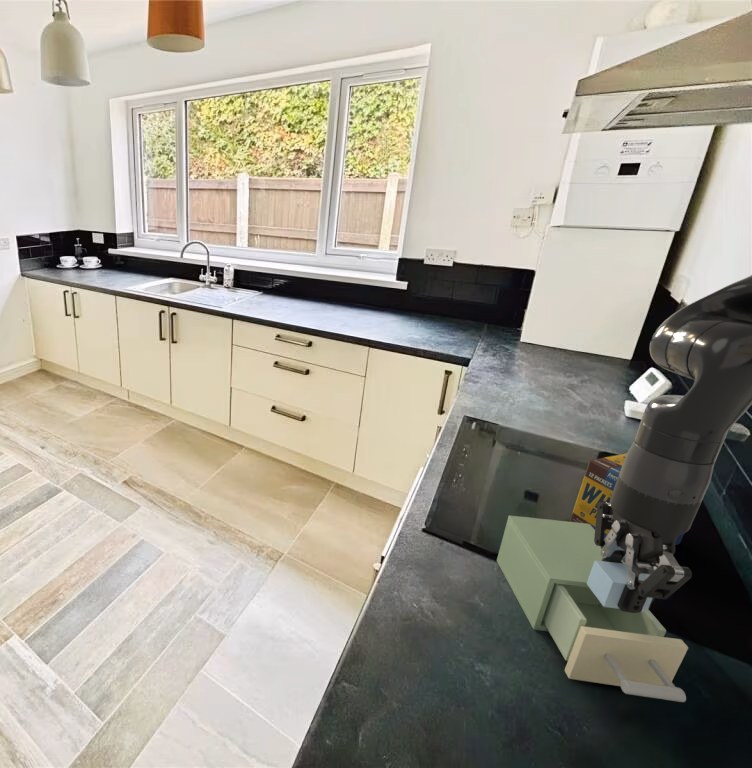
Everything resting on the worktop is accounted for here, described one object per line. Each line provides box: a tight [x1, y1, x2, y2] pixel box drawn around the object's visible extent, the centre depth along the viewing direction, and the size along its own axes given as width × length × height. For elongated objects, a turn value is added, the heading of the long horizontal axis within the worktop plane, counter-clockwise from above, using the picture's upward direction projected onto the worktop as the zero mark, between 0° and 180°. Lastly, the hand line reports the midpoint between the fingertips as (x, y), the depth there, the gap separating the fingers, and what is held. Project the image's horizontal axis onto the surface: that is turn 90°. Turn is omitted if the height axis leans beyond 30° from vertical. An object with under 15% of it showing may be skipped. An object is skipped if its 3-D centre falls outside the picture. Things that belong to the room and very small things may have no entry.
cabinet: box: [496, 514, 625, 633], centre depth 72 cm, size 15×13×10 cm
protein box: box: [569, 453, 685, 563], centre depth 85 cm, size 10×15×16 cm
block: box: [587, 560, 653, 612], centre depth 59 cm, size 5×4×4 cm
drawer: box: [542, 583, 689, 703], centre depth 61 cm, size 18×11×8 cm, turn 171°
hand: (616, 595), depth 60 cm, fingers closed on block, 4 cm apart
